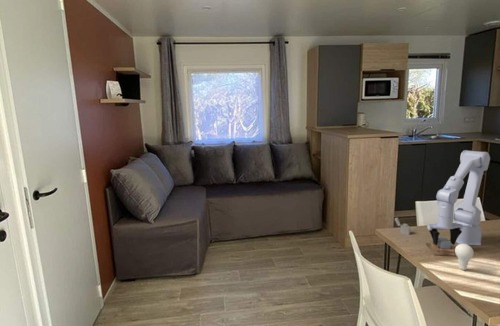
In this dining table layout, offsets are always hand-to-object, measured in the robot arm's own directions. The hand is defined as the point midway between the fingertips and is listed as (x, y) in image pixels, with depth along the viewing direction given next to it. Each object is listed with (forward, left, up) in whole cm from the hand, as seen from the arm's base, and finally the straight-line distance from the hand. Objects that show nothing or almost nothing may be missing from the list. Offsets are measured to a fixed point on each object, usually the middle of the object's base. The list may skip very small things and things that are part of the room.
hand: (443, 244), depth 139 cm
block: (0, 0, -2) cm, 2 cm away
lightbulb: (-1, +17, -3) cm, 17 cm away
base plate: (0, 0, -3) cm, 3 cm away
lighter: (+13, -19, -3) cm, 23 cm away
